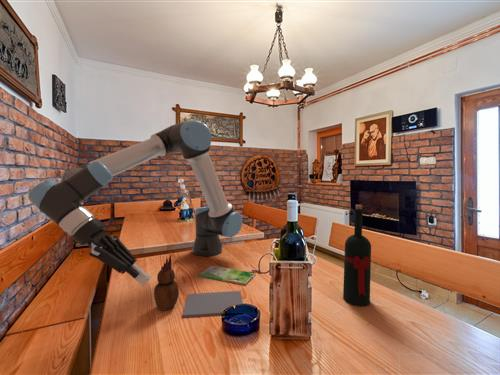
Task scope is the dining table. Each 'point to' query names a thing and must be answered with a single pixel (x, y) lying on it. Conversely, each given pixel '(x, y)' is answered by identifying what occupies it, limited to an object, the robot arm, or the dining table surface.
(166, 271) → the wooden figurine
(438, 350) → the dining table surface
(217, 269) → the green number grid board
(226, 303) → the charcoal rubber mat
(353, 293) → the wine bottle
